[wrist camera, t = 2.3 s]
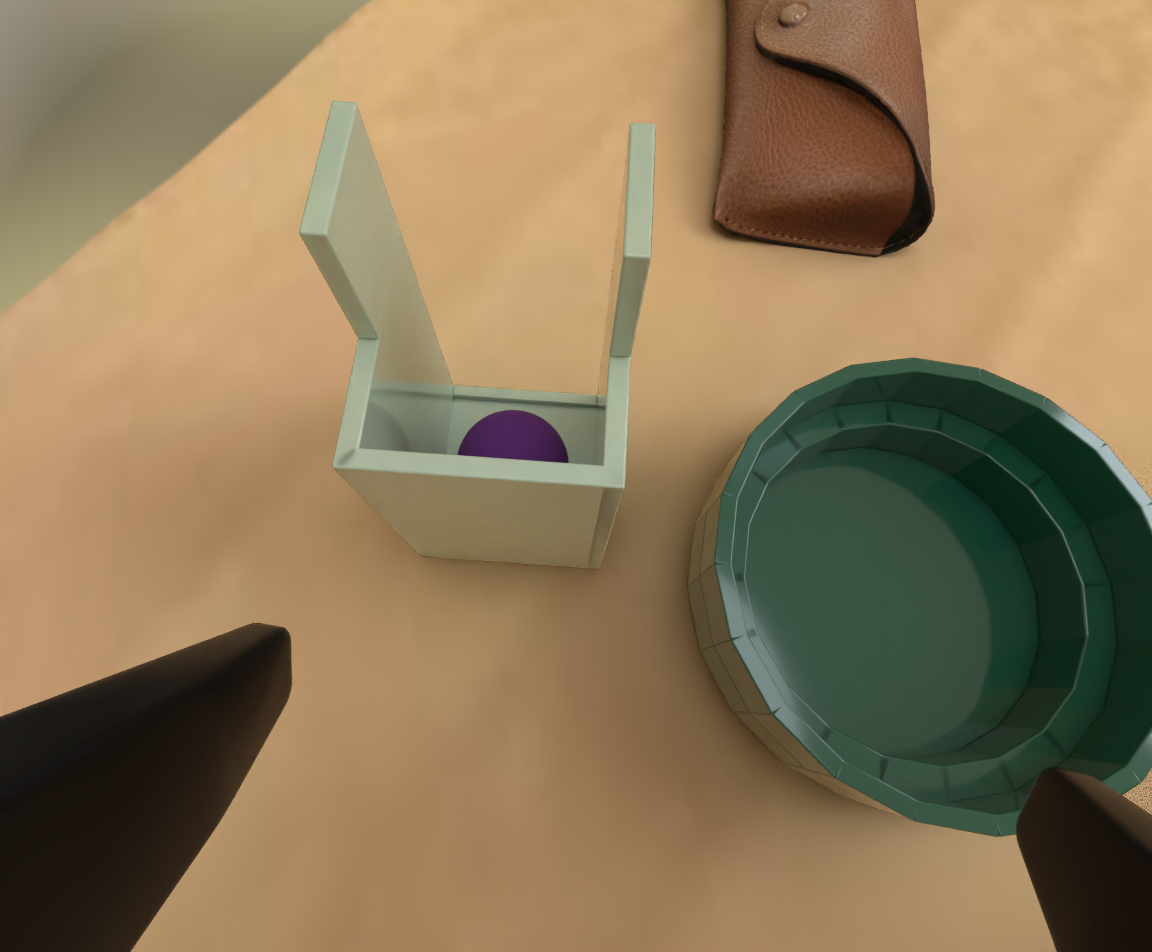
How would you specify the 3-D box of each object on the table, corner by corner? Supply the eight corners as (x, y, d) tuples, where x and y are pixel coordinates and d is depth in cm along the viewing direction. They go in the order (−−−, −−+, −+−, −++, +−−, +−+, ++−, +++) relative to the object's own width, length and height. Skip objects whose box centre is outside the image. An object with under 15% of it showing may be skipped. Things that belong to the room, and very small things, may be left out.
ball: (512, 557, 21) (504, 523, 18) (443, 484, 22) (422, 439, 19) (589, 488, 22) (594, 443, 19) (519, 421, 23) (513, 367, 20)
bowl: (919, 906, 19) (1023, 967, 15) (607, 588, 22) (618, 561, 18) (1141, 598, 22) (1279, 574, 18) (843, 355, 25) (901, 285, 21)
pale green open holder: (600, 569, 22) (645, 420, 10) (419, 556, 22) (255, 392, 10) (609, 405, 24) (656, 122, 12) (443, 393, 24) (331, 99, 12)
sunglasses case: (709, -63, 32) (823, -212, 26) (805, 19, 35) (922, -99, 30) (708, 235, 26) (853, 122, 21) (823, 299, 29) (973, 215, 24)
